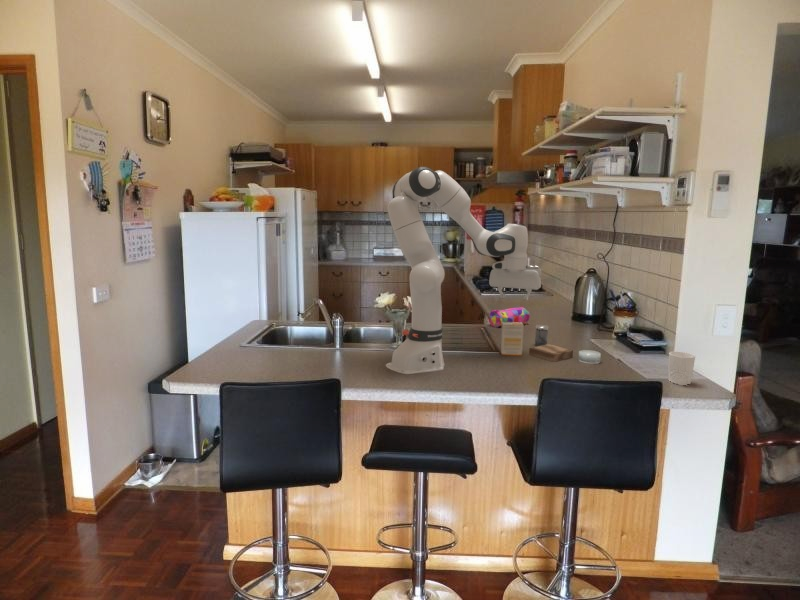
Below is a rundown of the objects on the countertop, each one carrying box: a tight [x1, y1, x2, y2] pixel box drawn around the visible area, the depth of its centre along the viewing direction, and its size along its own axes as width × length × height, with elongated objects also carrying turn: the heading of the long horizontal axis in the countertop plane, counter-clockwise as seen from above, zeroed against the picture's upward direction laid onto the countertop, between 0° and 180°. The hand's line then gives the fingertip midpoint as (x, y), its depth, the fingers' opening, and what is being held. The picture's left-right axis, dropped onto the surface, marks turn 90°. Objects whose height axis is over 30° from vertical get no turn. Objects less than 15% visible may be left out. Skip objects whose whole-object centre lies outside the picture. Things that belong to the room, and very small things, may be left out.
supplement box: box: [500, 322, 524, 356], centre depth 211 cm, size 8×5×13 cm, turn 84°
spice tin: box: [534, 324, 549, 347], centre depth 225 cm, size 5×5×9 cm
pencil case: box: [488, 306, 531, 328], centre depth 267 cm, size 22×9×9 cm, turn 122°
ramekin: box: [578, 349, 602, 365], centre depth 204 cm, size 8×8×4 cm
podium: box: [528, 343, 574, 363], centre depth 210 cm, size 12×12×3 cm
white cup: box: [667, 350, 696, 385], centre depth 179 cm, size 8×8×10 cm
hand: (514, 299), depth 209 cm, fingers open, 8 cm apart
